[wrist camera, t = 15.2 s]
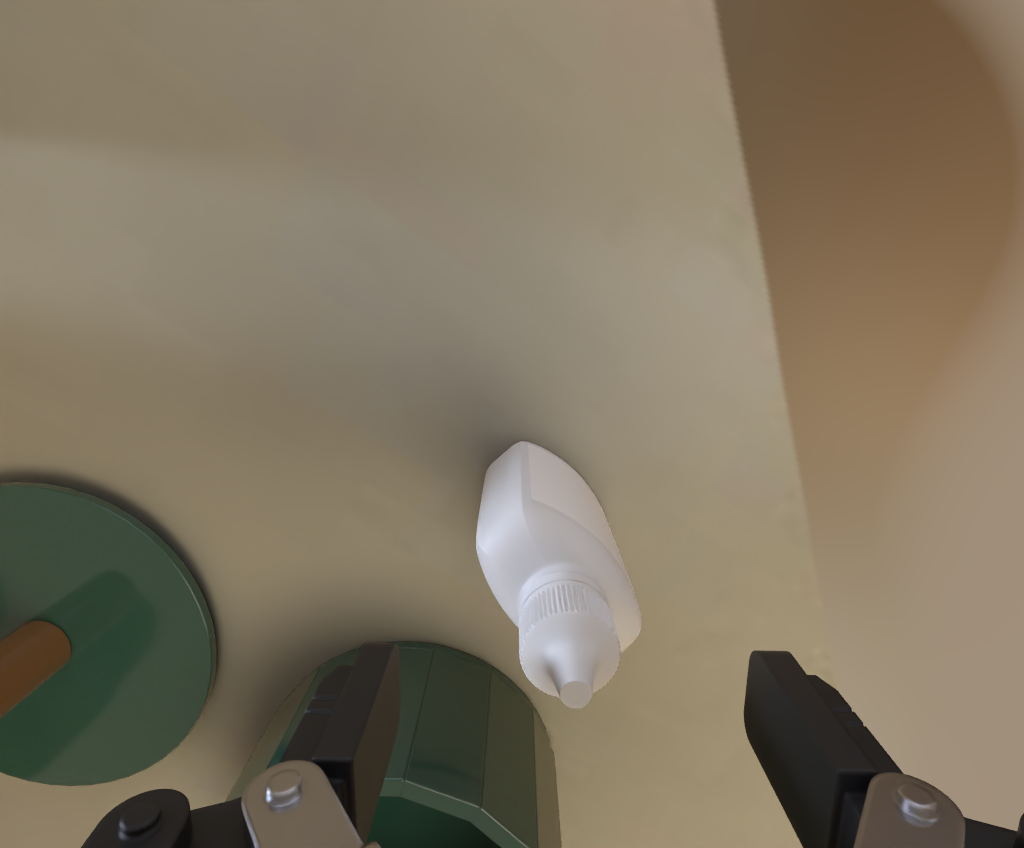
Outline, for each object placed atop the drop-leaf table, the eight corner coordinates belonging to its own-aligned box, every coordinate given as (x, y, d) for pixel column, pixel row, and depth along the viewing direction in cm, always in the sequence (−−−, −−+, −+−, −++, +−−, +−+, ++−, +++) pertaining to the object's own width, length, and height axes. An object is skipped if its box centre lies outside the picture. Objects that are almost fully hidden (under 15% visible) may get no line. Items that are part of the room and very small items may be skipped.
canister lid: (-135, 475, 25) (-321, 528, 19) (206, 478, 24) (116, 532, 19) (-64, 765, 28) (-207, 882, 22) (238, 769, 28) (169, 888, 22)
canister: (257, 639, 26) (155, 776, 19) (556, 642, 26) (571, 781, 19) (280, 880, 29) (200, 1081, 22) (550, 884, 29) (561, 1086, 21)
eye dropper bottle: (586, 423, 24) (653, 554, 12) (613, 551, 25) (698, 784, 13) (479, 447, 24) (443, 598, 12) (511, 572, 25) (506, 819, 14)
